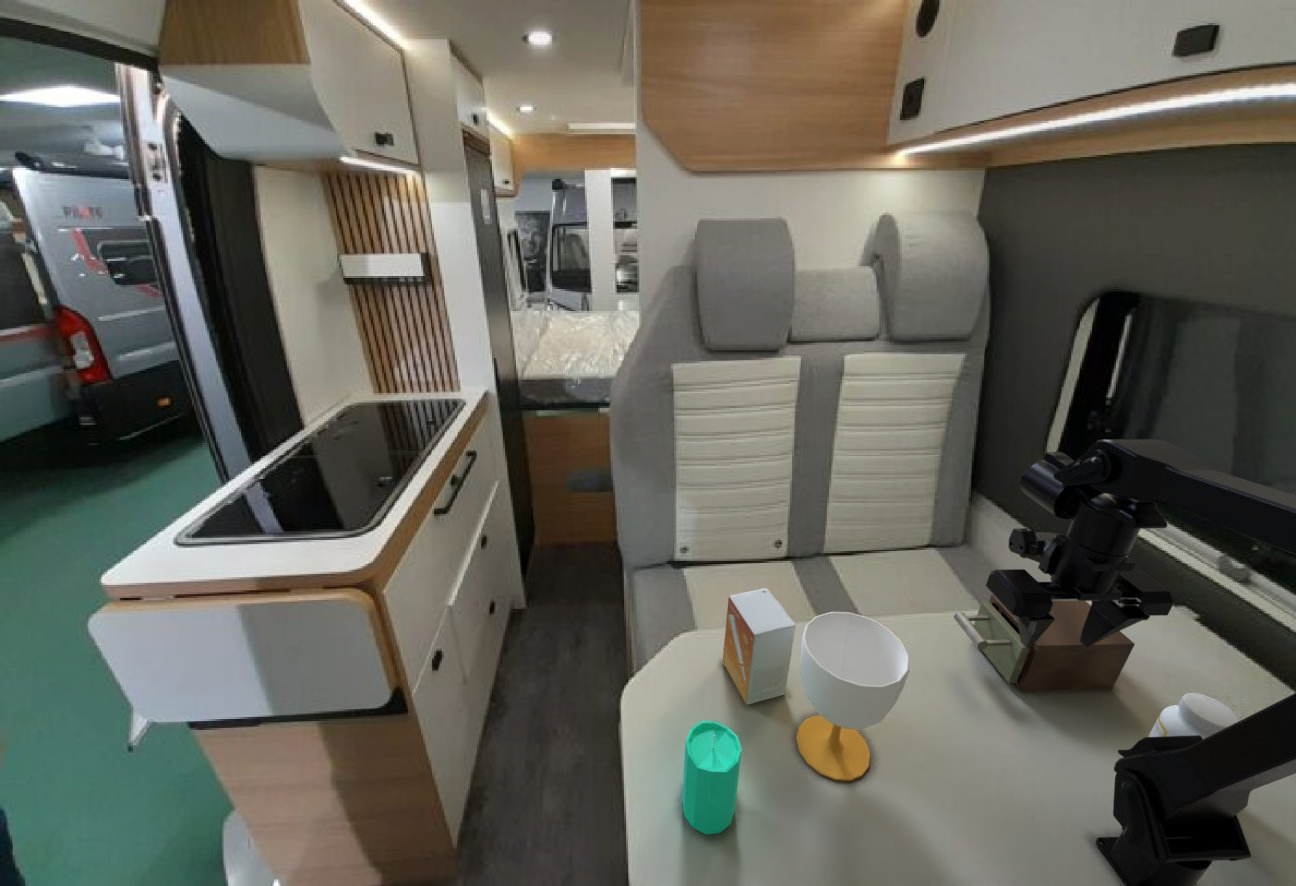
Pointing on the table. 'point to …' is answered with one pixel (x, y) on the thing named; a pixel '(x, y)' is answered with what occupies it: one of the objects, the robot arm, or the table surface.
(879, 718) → the cup
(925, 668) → the table surface
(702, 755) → the candle
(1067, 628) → the cabinet
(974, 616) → the drawer
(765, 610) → the small box
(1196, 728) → the pill bottle
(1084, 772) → the table surface
